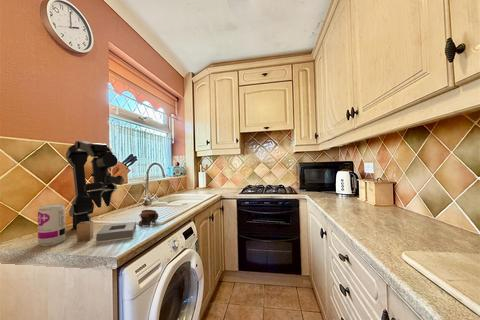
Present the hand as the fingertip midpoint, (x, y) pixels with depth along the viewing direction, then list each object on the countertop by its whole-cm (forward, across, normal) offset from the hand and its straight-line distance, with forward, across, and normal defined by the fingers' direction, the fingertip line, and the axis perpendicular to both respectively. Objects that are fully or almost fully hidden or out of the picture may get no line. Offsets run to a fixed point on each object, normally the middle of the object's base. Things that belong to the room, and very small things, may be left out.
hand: (104, 206), depth 90 cm
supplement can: (+11, 0, +20) cm, 23 cm away
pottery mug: (+13, +18, -14) cm, 26 cm away
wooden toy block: (+12, +1, +8) cm, 15 cm away
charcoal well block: (+13, +2, -3) cm, 14 cm away
